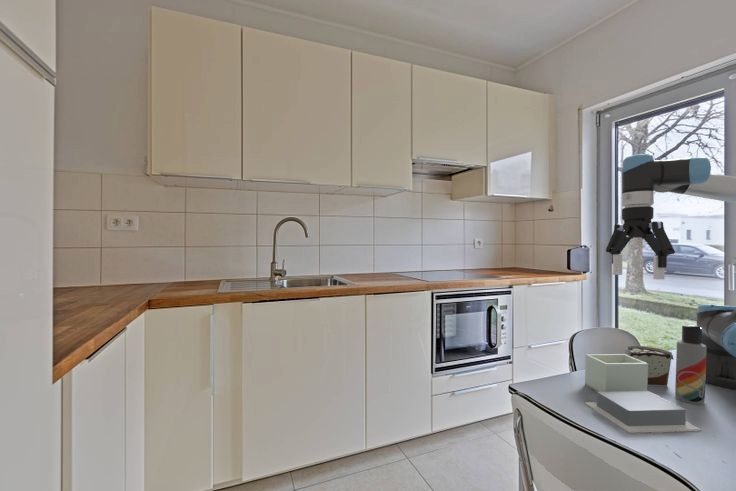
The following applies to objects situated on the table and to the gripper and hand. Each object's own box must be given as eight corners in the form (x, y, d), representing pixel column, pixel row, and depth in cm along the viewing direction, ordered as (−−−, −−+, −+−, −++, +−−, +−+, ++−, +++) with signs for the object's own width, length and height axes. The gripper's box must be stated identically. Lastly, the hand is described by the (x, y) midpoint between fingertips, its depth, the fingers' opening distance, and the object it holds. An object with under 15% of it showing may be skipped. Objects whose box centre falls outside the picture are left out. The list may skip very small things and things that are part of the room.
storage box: (623, 384, 98) (624, 354, 98) (647, 396, 91) (648, 363, 91) (584, 385, 97) (585, 354, 97) (605, 397, 90) (606, 364, 90)
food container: (656, 378, 104) (657, 345, 103) (672, 386, 98) (673, 352, 97) (614, 375, 105) (615, 344, 105) (627, 384, 99) (628, 350, 99)
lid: (647, 404, 85) (648, 390, 85) (685, 424, 76) (685, 409, 76) (596, 405, 84) (597, 391, 84) (628, 426, 75) (628, 410, 75)
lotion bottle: (694, 406, 86) (697, 328, 86) (669, 396, 91) (672, 323, 91) (710, 403, 87) (712, 327, 87) (684, 393, 93) (686, 322, 93)
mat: (647, 402, 87) (647, 401, 87) (700, 430, 74) (700, 429, 74) (585, 403, 86) (585, 402, 86) (628, 432, 73) (628, 431, 73)
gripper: (593, 210, 114) (593, 273, 114) (667, 201, 89) (667, 281, 89) (613, 211, 115) (613, 273, 115) (692, 202, 90) (692, 281, 90)
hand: (636, 277), depth 102 cm, fingers open, 13 cm apart
